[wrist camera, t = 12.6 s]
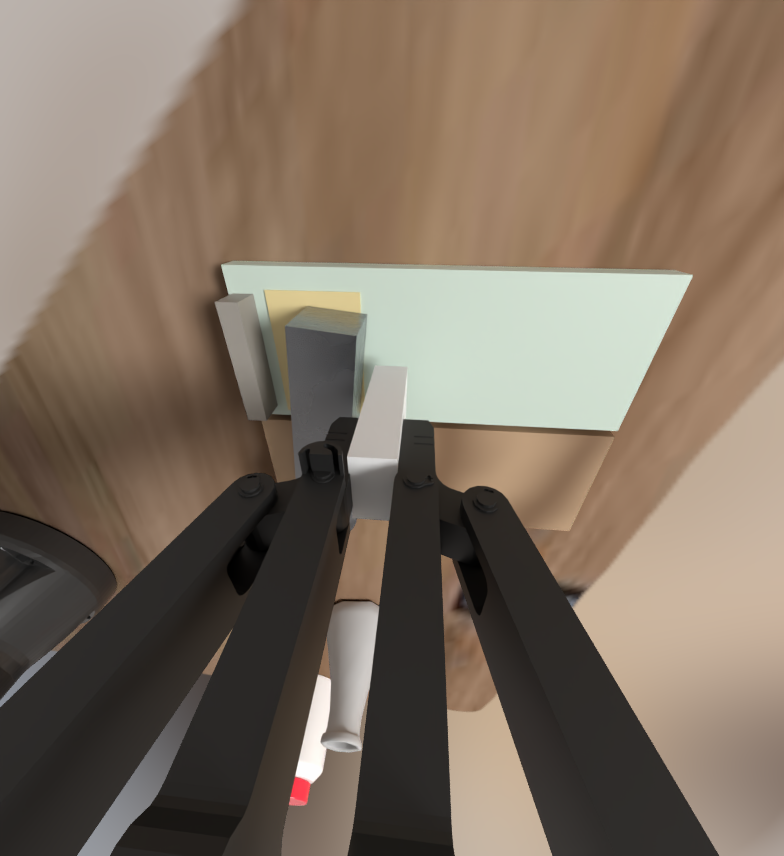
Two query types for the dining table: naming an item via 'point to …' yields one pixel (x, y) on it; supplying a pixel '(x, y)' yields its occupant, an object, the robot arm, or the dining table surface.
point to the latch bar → (323, 373)
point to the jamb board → (497, 464)
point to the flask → (349, 671)
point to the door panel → (464, 335)
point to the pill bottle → (312, 743)
